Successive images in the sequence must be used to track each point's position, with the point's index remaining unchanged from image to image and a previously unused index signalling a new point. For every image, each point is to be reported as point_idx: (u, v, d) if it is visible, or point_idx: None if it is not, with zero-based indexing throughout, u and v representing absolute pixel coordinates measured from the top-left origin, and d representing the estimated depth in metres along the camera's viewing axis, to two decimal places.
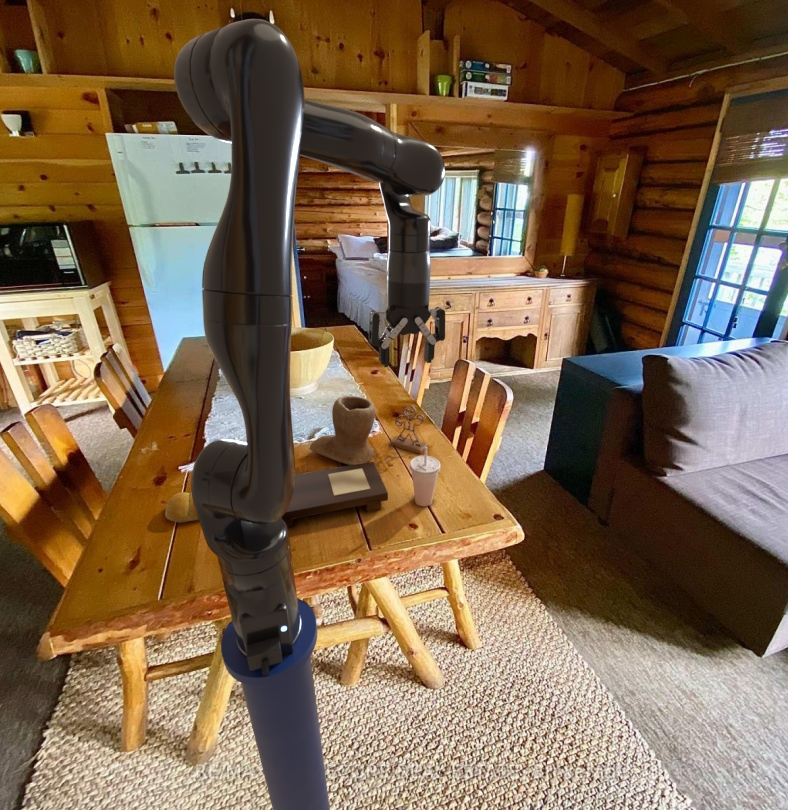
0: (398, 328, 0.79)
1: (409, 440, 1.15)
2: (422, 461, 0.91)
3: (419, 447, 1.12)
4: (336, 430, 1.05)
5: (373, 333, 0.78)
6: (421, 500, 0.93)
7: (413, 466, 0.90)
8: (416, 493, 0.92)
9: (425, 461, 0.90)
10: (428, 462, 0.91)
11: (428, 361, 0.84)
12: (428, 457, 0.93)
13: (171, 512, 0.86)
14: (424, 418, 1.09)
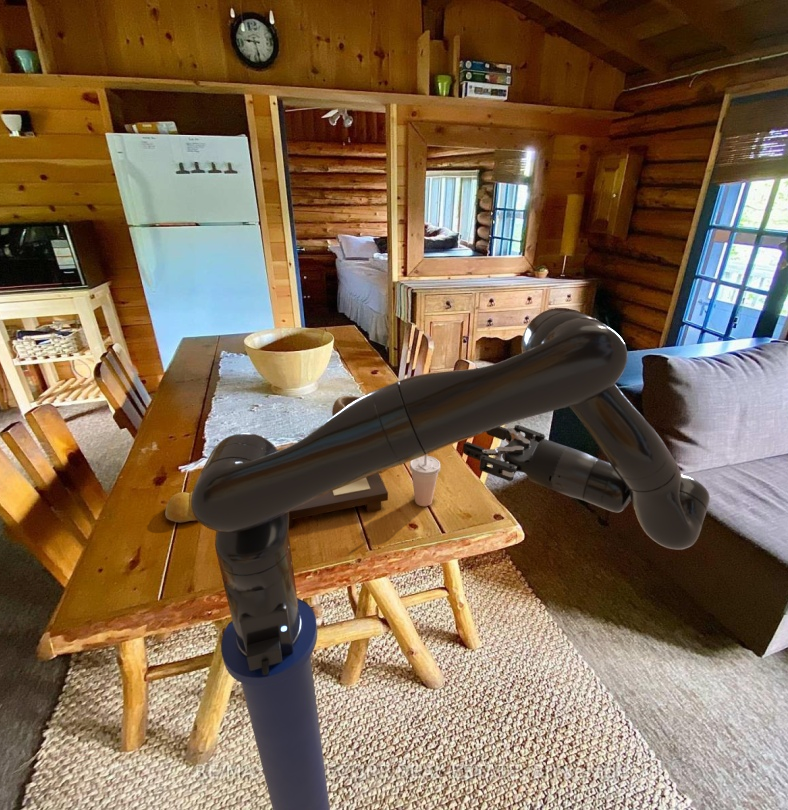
0: (521, 437, 0.77)
1: None
2: (422, 461, 0.91)
3: None
4: None
5: (527, 429, 0.81)
6: (421, 500, 0.93)
7: (413, 466, 0.90)
8: (416, 493, 0.92)
9: (425, 461, 0.90)
10: (428, 462, 0.91)
11: (467, 442, 0.77)
12: (428, 457, 0.93)
13: (171, 512, 0.86)
14: None
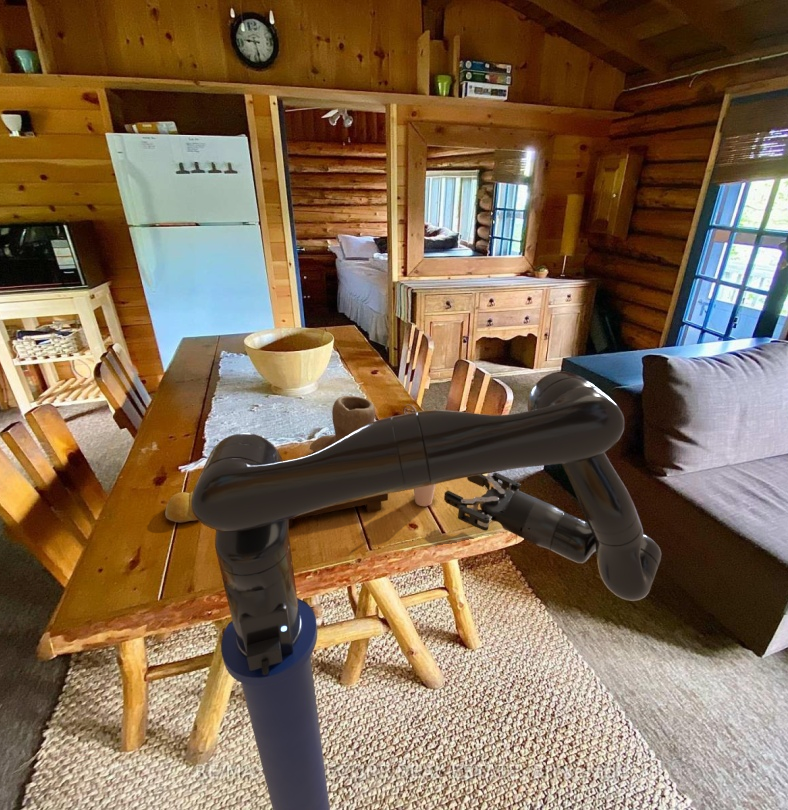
0: (498, 487, 0.84)
1: None
2: None
3: None
4: (336, 430, 1.05)
5: (504, 477, 0.88)
6: (421, 500, 0.93)
7: None
8: (416, 493, 0.92)
9: None
10: None
11: (448, 491, 0.84)
12: None
13: (171, 512, 0.86)
14: None
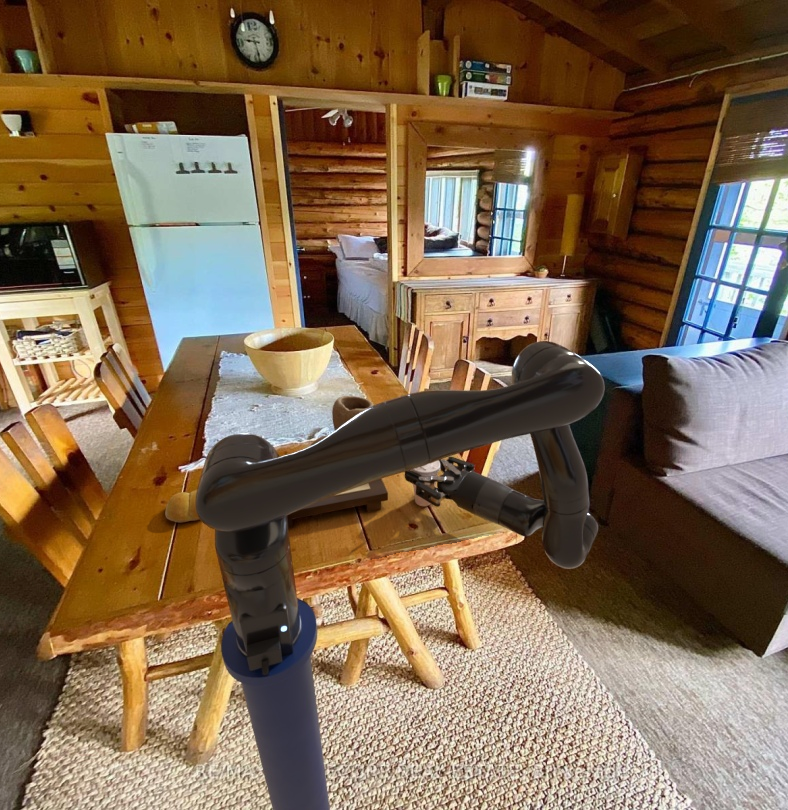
0: (453, 469, 0.89)
1: None
2: None
3: None
4: None
5: (459, 459, 0.93)
6: (421, 500, 0.93)
7: None
8: None
9: None
10: None
11: None
12: None
13: (171, 512, 0.86)
14: None
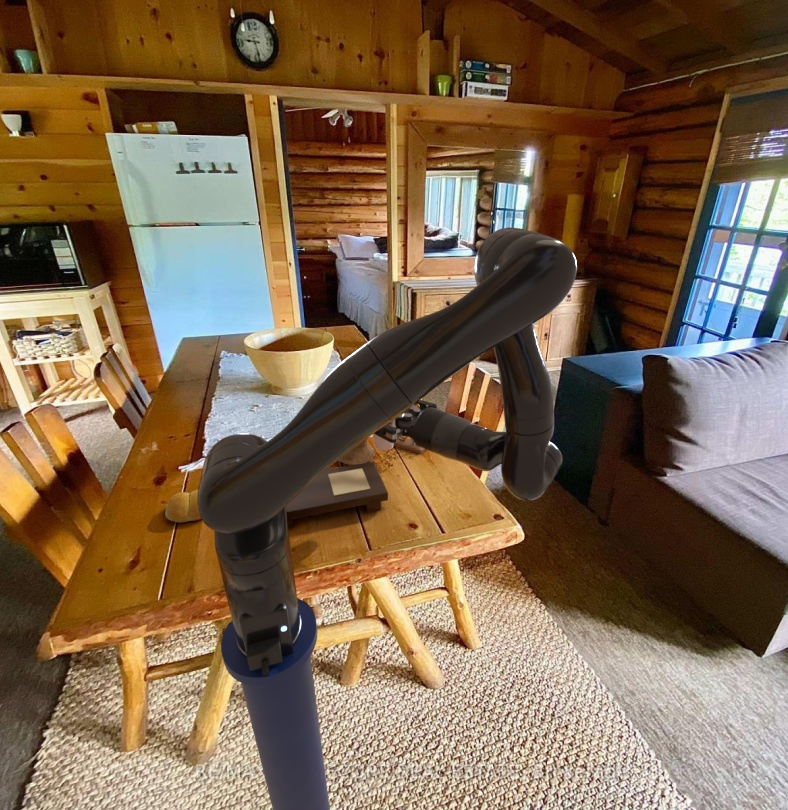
0: (413, 407, 0.83)
1: (409, 440, 1.15)
2: None
3: (419, 447, 1.12)
4: None
5: (421, 400, 0.87)
6: (381, 443, 0.87)
7: None
8: (375, 436, 0.87)
9: None
10: None
11: None
12: None
13: (171, 512, 0.86)
14: None
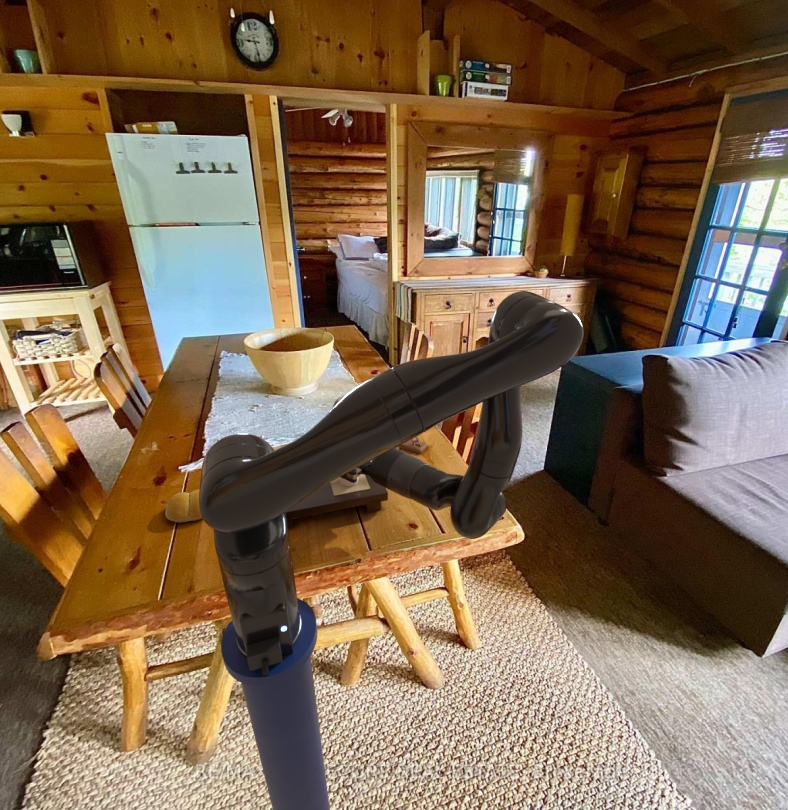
0: None
1: (409, 440, 1.15)
2: None
3: (419, 447, 1.12)
4: None
5: None
6: (345, 480, 0.91)
7: None
8: None
9: None
10: None
11: None
12: None
13: (171, 512, 0.86)
14: None
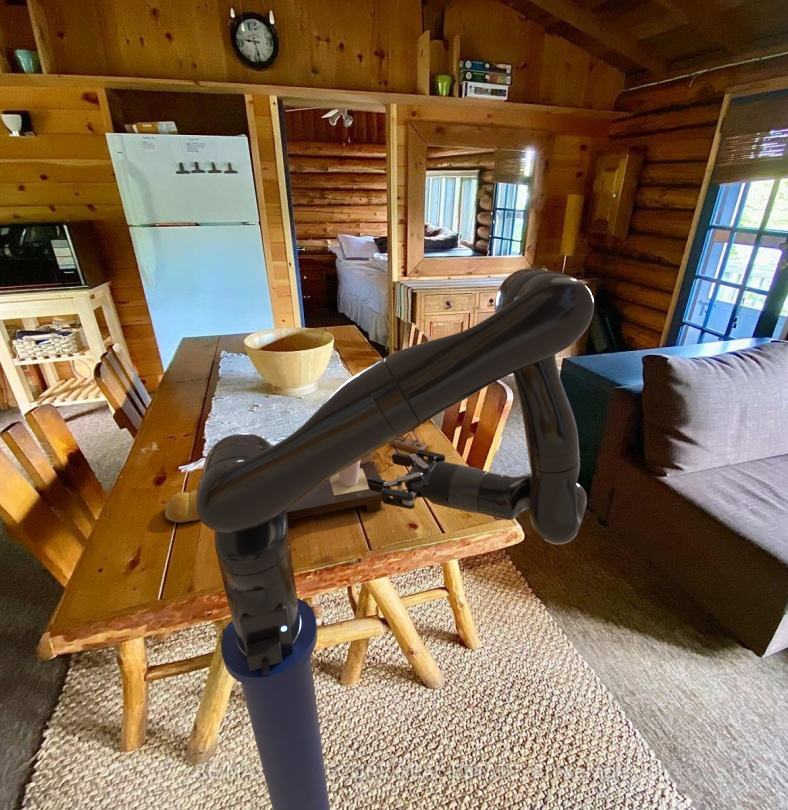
0: (421, 463, 0.80)
1: (409, 440, 1.15)
2: None
3: (419, 447, 1.12)
4: None
5: (429, 452, 0.84)
6: (345, 480, 0.91)
7: None
8: (339, 473, 0.91)
9: None
10: None
11: (370, 478, 0.79)
12: None
13: (171, 512, 0.86)
14: None
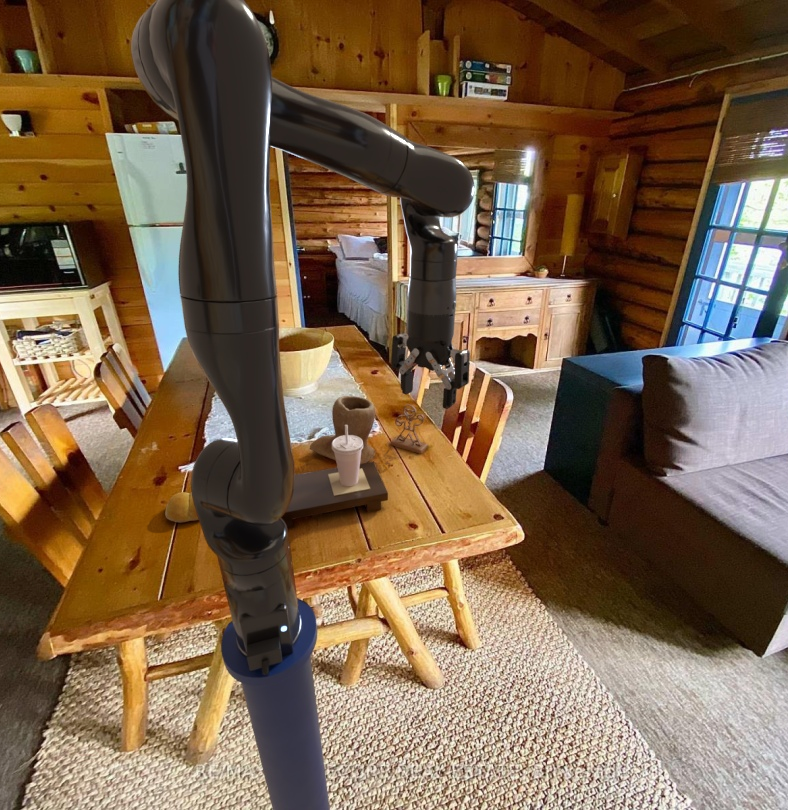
0: (411, 357, 0.72)
1: (409, 440, 1.15)
2: (345, 440, 0.90)
3: (419, 447, 1.12)
4: (336, 430, 1.05)
5: (392, 355, 0.75)
6: (345, 480, 0.91)
7: (334, 445, 0.89)
8: (339, 473, 0.91)
9: (346, 440, 0.88)
10: (350, 441, 0.90)
11: (443, 406, 0.73)
12: (352, 436, 0.92)
13: (171, 512, 0.86)
14: (423, 418, 1.09)
